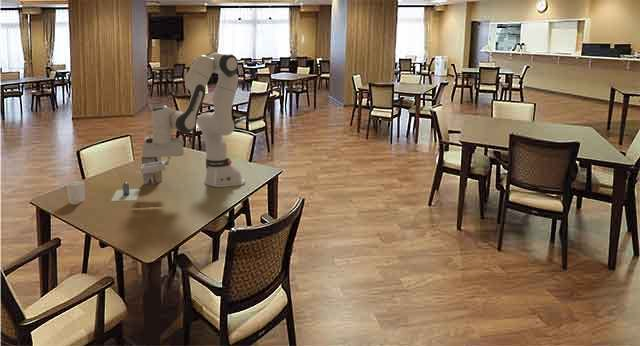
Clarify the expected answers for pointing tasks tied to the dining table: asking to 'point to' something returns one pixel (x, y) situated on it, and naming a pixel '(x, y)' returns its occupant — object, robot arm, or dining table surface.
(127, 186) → the post
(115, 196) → the keeper plate
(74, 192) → the white cup
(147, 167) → the rectangular frame
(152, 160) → the coffee box
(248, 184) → the dining table surface
